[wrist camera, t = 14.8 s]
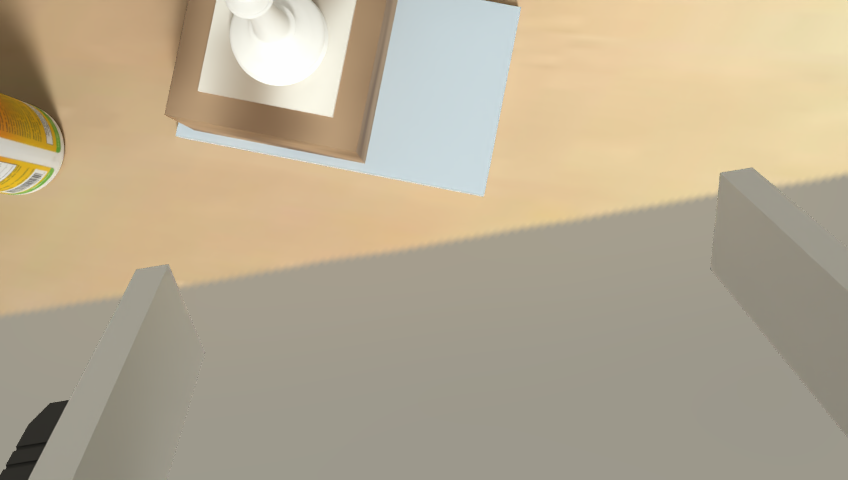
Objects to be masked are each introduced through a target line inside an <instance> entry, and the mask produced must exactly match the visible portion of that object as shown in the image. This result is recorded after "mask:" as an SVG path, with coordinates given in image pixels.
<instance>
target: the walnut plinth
mask: <svg viewBox="0 0 848 480" xmlns="http://www.w3.org/2000/svg"><path fill="white" fill-rule="evenodd" d="M312 1H313V2H314V3H315V4H316V6H317V7H318V8H319V9H320V11H321V12H322V14H323V16H324V18H325V21H326V24H327V28H328V46H327V50H326V53H325V56H324V58H323V60H322V62H321V63H320V65H319V66H318V67H317V69H316V70H315V71H314V72H313V73H312V74H311V75H309V76H308V77H306V78H305V79H303V80H301V81H299V82H297V83H294V84H290V85H284V86H274V85H268V84H264V83H262V82H259V81H257V80H255V79H254V78H252V77H251V76H249V75H248V74H247V73H246V72H245V71H244V70H243V69H242V68H241V66H240V65H239V63H238V62H237V60H236V58H235V56H234V53H233V51H232V48H231V44H230V37H229V32H230V24H231V20H232V18H233V15H234V14H233V13H232V12H231V11H230V10H229V8H228V7H227V5H226V2H225V0H188V4H187V9H186V14H185V19H184V23H183V28H182V33H181V38H180V43H179V48H178V52H177V57H176V62H175V67H174V72H173V76H172V81H171V86H170V91H169V96H168V101H167V105H166V110H165V115H166V116H168V117H170V118H172V119H174V120H176V121H177V122H179V123H181V124H183V125H185V126H187V127H189V128H191V129H193V130H195V131H200V132H205V133H210V134H215V135H220V136H226V137H231V138H236V139H241V140H246V141H251V142H256V143H261V144H267V145H272V146H277V147H282V148H287V149H292V150H297V151H302V152H308V153H313V154H318V155H323V156H328V157H333V158H338V159H344V160H349V161H354V162H359V163H364V164H365V161H366V156H367V151H368V146H369V141H370V136H371V131H372V126H373V121H374V116H375V111H376V106H377V101H378V96H379V91H380V86H381V81H382V76H383V71H384V66H385V62H386V57H387V52H388V47H389V42H390V37H391V32H392V27H393V22H394V17H395V12H396V7H397V2H398V0H312Z"/></svg>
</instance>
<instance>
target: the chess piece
mask: <svg viewBox="0 0 848 480" xmlns="http://www.w3.org/2000/svg"><path fill="white" fill-rule="evenodd" d="M225 2H226V5H227V7H228V8H229V10H230V11H231V12H232V13H233V14H234V15H233V18H232V20H231V24H230V32H229V37H230V44H231V48H232V51H233V53H234V56H235V58H236V60H237V62H238V63H239V65H240V66H241V68H242V69H243V70H244V71H245V72H246V73H247V74H248V75H249V76H251V77H252V78H254V79H255V80H257V81H259V82H262V83H264V84H268V85H274V86H284V85H290V84H294V83H297V82H299V81H301V80H303V79H305V78H306V77H308V76H309V75H311V74H312V73H313V72H314V71H315V70H316V69H317V67H318V66H319V65H320V63H321V62H322V60H323V58H324V56H325V53H326V50H327V46H328V28H327V24H326V21H325V18H324V16H323V14H322V12H321V11H320V9H319V8H318V7H317V6H316V4H315V3H314V2H313V1H312V0H225Z"/></svg>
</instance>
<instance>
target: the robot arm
mask: <svg viewBox="0 0 848 480" xmlns="http://www.w3.org/2000/svg"><path fill="white" fill-rule="evenodd" d="M710 269H711V271H712V272H713V273H714V274H715V275H716V277H717V278H718V279H719V280H720V282H721V283H722V284H723V285H724V287H725V288H726V289H727V290H728V291H729V293H730V294H731V295H732V296H733V298H734V299H735V300H736V301H737V303H738V304H739V305H740V306H741V307H742V309H743V310H744V311H745V312H746V314H747V315H748V316H749V317H750V318H751V320H752V321H753V322H754V323H755V325H756V326H757V327H758V328H759V329H760V331H761V332H762V333H763V334H764V336H765V337H766V338H767V339H768V340H769V342H770V343H771V344H772V345H773V347H774V348H775V349H776V350H777V351H778V353H779V354H780V355H781V356H782V358H783V359H784V360H785V361H786V363H787V364H788V365H789V366H790V367H791V369H792V370H793V371H794V372H795V374H797V376H798V377H799V378H800V380H801V381H802V382H803V383H804V385H805V386H806V387H807V388H808V389H809V391H810V392H811V393H812V394H813V396H814V397H815V398H816V399H817V400H818V402H819V403H820V404H821V405H822V407H823V408H824V409H825V410H826V412H827V413H828V414H829V415H830V416H831V418H832V419H833V420H834V421H835V422H836V424H837V425H838V426H839V427H840V429H841V430H842V431H843V432H844V434H845V435H846V436H847V437H848V247H847V246H845V245H844V244H843V243H842V242H841V241H840V240H838V239H837V238H836V237H835V236H834V235H832V234H831V233H830V232H829V231H828V230H826V229H825V228H824V227H823V226H822V225H820V224H819V223H818V222H817V221H816V220H814V219H813V218H812V217H811V216H810V215H809V214H807V213H806V212H805V211H803V209H801V208H800V207H799V206H797V204H795V203H794V202H793V201H792V200H790V199H789V198H788V197H787V196H786V195H784V194H783V193H782V192H781V191H780V190H779V189H777V188H776V187H775V186H774V185H773V184H771V183H770V182H769V181H768V180H767V179H765V178H764V177H763V176H762V175H761V174H759V173H758V172H757V171H756V170H755V169H753V168H747V169H741V170H735V171H729V172H722V173H720V179H719V189H718V198H717V209H716V218H715V229H714V238H713V247H712V257H711V267H710ZM204 354H205V351H204V349H203V347H202V344H201V342H200V339H199V337H198V334H197V332H196V330H195V327H194V325H193V322H192V320H191V317H190V315H189V313H188V310H187V308H186V305H185V303H184V300H183V298H182V296H181V293H180V291H179V288H178V286H177V283H176V281H175V279H174V276H173V274H172V271H171V269H170V267H169V264H167V265H161V266H155V267H149V268H143V269H137V270H136V271H135V273H134V275H133V277H132V279H131V281H130V283H129V285H128V287H127V289H126V291H125V293H124V295H123V296H122V298H121V300H120V302H119V304H118V306H117V308H116V310H115V312H114V314H113V316H112V318H111V320H110V322H109V324H108V326H107V327H106V330H105V332H104V333H103V335H102V337H101V339H100V341H99V343H98V345H97V347H96V349H95V351H94V353H93V355H92V357H91V359H90V360H89V362H88V364H87V366H86V368H85V370H84V372H83V374H82V376H81V378H80V380H79V382H78V384H77V386H76V388H75V390H74V391H73V393H72V395H71V397H70V399H69V400H67V401H61V402H55V403H50V404H49V405H48V406H47V407H46V408H45V409H44V410H43V411H42V412H41V413H40V414H39V415H38V416H37V417H36V418H35V419H34V420H33V421H32V422H31V423H30V424H29V425H28V427H27V428H26V430H25V432H24V434H23V436H22V437H21V439H20V441H19V443H18V444H17V446H16V448H17V450H16V451H14V452H13V453H12V455H11V457H10V459H9V461H8V462H7V464H6V469H5V470H3V471H2V473H1V475H0V480H167V478H168V475H169V472H170V468H171V465H172V462H173V458H174V455H175V452H176V448H177V445H178V442H179V438H180V435H181V431H182V428H183V425H184V421H185V418H186V415H187V411H188V408H189V405H190V402H191V398H192V395H193V391H194V388H195V385H196V381H197V378H198V375H199V371H200V368H201V365H202V361H203V358H204Z"/></svg>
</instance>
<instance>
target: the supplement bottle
mask: <svg viewBox="0 0 848 480" xmlns="http://www.w3.org/2000/svg"><path fill="white" fill-rule="evenodd" d="M63 158H64V141H63V137H62V133H61V131H60V129H59V127H58V125H57V123H56V122H55V121H54V119H53V118H52V117H51V116H50V115H48V114H47V113H46V112H45V111H43V110H41V109H40V108H38V107H35V106H33V105H31V104H29V103H26V102H23V101H21V100H18V99H15V98H12V97H10V96H7V95H4V94H2V93H0V193H2V194H11V195H22V194H28V193H32V192H35V191H37V190H39V189H41V188H43V187H44V186H46V185H47V184H48V183H49V182H51V181H52V180H53V178H54V177H55V176H56V175H57V173H58V171H59V170H60V167H61V165H62V162H63Z"/></svg>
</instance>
